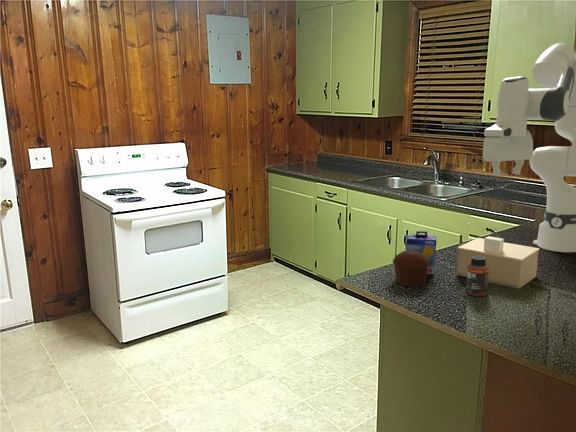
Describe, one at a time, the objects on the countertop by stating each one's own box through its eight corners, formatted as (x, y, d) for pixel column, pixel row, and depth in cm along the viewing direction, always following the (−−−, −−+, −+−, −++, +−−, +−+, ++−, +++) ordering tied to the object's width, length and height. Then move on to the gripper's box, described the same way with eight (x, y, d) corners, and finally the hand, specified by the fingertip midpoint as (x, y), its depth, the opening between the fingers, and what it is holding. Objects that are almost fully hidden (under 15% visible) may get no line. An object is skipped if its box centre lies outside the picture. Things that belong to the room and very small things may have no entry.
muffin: (432, 278, 167) (433, 249, 165) (426, 290, 157) (427, 258, 155) (395, 274, 172) (396, 245, 170) (388, 285, 162) (389, 254, 160)
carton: (476, 264, 181) (478, 239, 179) (536, 276, 167) (538, 250, 165) (457, 274, 170) (458, 249, 168) (518, 288, 157) (521, 261, 155)
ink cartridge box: (405, 273, 172) (406, 231, 169) (404, 268, 178) (405, 227, 175) (435, 274, 171) (437, 232, 167) (434, 269, 176) (436, 228, 173)
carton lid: (477, 239, 179) (478, 226, 178) (539, 250, 165) (540, 236, 164) (457, 249, 168) (458, 235, 167) (521, 261, 154) (522, 246, 153)
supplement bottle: (485, 290, 156) (488, 255, 153) (488, 297, 150) (491, 261, 148) (465, 289, 157) (467, 253, 155) (467, 296, 152) (469, 259, 149)
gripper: (522, 129, 167) (518, 172, 169) (480, 130, 156) (477, 175, 159) (540, 130, 161) (536, 174, 164) (498, 131, 151) (494, 177, 154)
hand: (506, 174), depth 161 cm, fingers open, 8 cm apart
